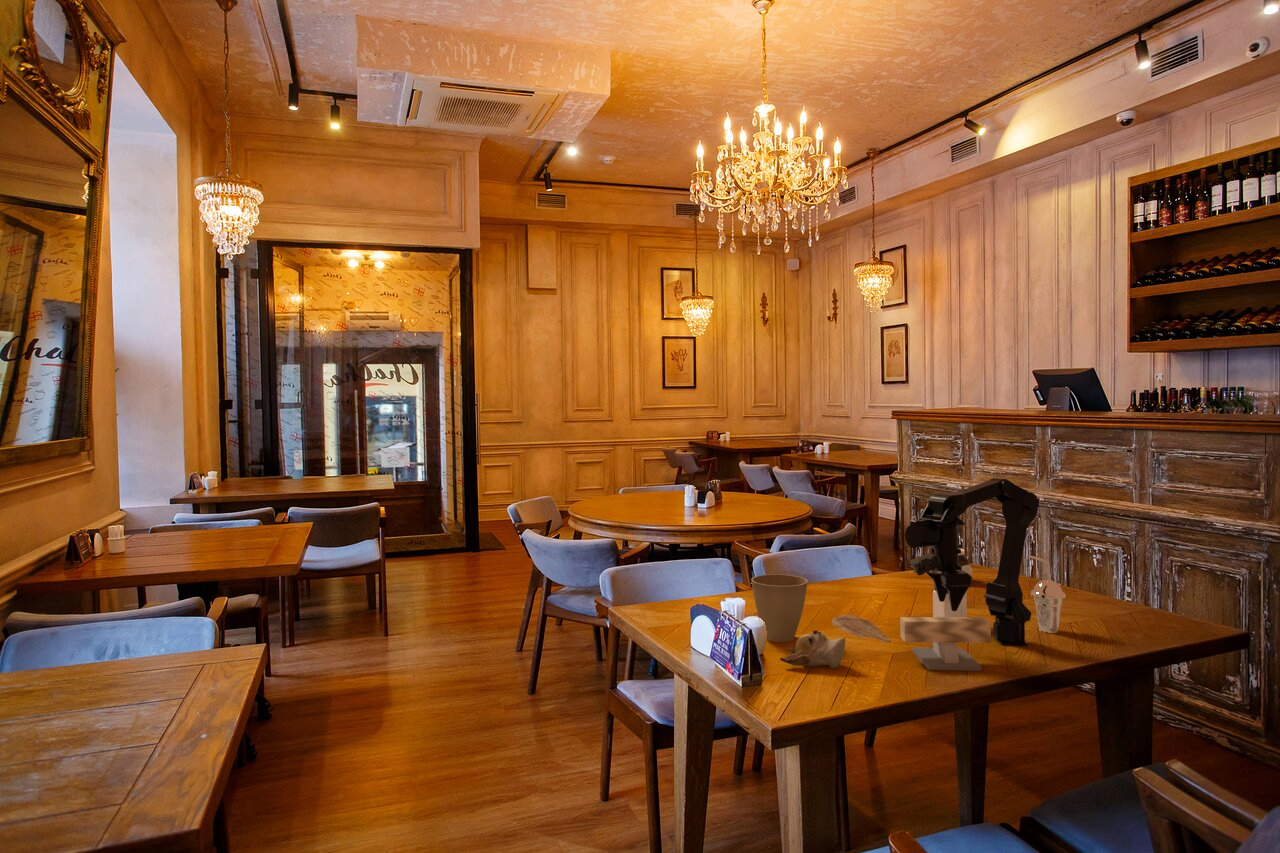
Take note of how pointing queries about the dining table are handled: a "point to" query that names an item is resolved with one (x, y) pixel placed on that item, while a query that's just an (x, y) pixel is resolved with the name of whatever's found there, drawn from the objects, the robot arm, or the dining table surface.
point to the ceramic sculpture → (816, 651)
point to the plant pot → (779, 604)
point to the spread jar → (964, 562)
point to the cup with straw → (1047, 602)
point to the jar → (948, 607)
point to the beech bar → (945, 629)
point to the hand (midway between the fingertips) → (947, 606)
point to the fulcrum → (946, 657)
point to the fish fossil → (859, 627)
